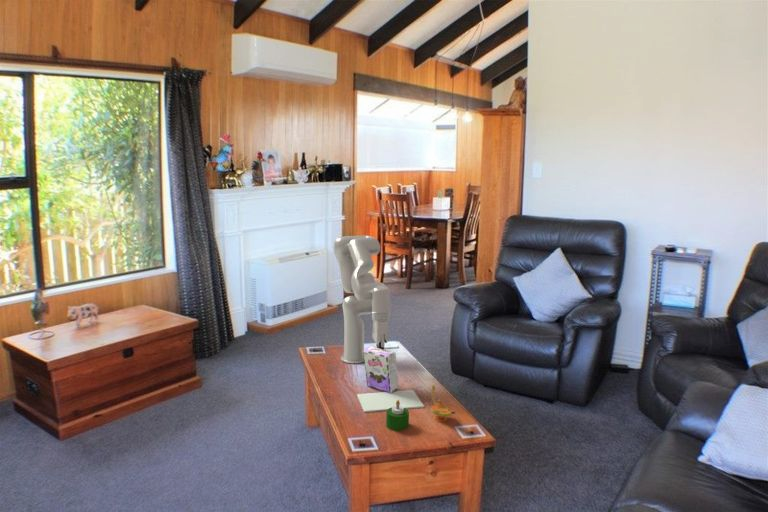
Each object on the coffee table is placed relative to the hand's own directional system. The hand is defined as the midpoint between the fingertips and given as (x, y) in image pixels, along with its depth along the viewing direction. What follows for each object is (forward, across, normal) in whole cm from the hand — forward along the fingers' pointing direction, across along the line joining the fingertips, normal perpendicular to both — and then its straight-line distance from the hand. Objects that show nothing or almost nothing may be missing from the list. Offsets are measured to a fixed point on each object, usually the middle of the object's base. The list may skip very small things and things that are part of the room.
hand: (380, 356), depth 252 cm
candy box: (+12, +6, 0) cm, 13 cm away
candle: (+12, +40, -2) cm, 42 cm away
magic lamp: (+12, +39, +16) cm, 44 cm away
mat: (+12, +19, 0) cm, 22 cm away
